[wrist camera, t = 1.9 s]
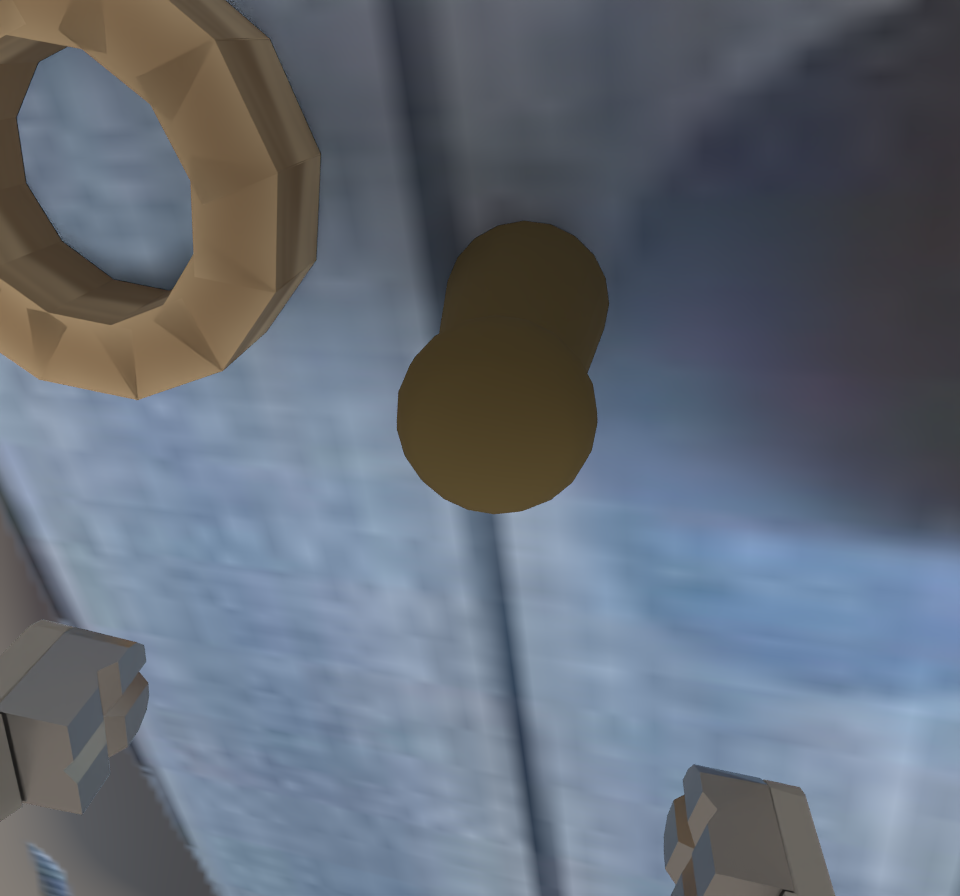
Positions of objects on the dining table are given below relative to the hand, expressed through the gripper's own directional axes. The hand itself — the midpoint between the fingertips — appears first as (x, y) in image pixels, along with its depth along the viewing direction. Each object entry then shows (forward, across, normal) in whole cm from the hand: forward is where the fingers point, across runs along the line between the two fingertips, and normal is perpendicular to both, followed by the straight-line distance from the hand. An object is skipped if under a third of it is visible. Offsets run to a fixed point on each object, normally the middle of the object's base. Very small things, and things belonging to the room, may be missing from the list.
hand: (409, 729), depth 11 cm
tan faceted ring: (+19, +15, -2) cm, 24 cm away
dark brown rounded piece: (+19, 0, -1) cm, 19 cm away
